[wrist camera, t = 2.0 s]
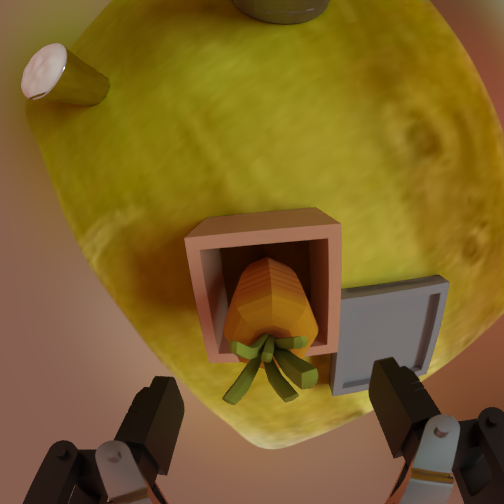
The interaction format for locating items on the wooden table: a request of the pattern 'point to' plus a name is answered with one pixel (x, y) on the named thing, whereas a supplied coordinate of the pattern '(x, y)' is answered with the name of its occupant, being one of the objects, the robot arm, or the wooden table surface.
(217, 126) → the wooden table surface
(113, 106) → the wooden table surface
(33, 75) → the milkshake
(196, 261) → the box
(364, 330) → the tray
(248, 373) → the carrot
